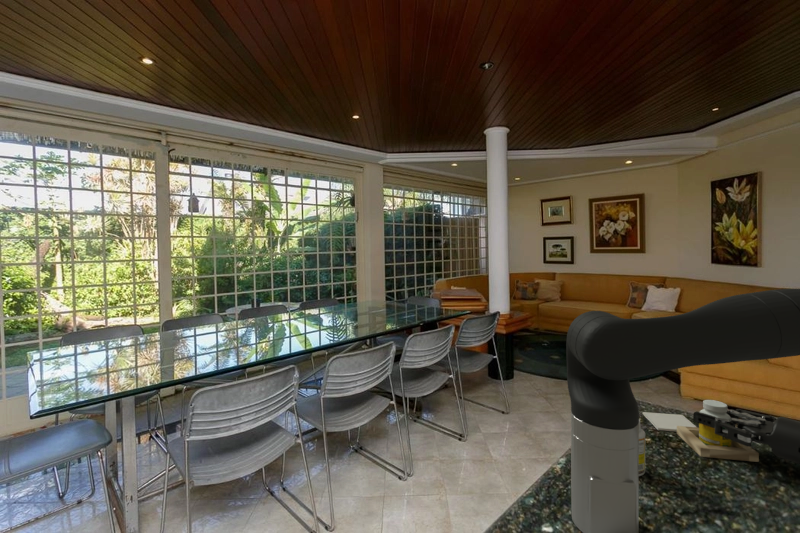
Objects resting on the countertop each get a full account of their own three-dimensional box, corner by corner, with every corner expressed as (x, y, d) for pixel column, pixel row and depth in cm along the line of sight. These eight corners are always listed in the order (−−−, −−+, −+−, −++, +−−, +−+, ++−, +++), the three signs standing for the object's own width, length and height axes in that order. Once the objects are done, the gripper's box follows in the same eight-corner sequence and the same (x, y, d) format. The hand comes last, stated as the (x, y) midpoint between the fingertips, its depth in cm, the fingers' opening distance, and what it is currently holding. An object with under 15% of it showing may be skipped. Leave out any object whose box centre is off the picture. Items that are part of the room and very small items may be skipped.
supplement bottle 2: (704, 438, 84) (704, 396, 83) (735, 448, 79) (735, 404, 79) (694, 445, 81) (695, 402, 80) (726, 456, 76) (726, 410, 76)
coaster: (701, 433, 86) (701, 431, 86) (657, 430, 88) (657, 427, 88) (682, 416, 94) (682, 414, 94) (642, 413, 97) (642, 412, 97)
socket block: (758, 462, 74) (758, 453, 74) (700, 456, 76) (700, 447, 76) (727, 437, 84) (727, 429, 84) (676, 433, 86) (676, 425, 86)
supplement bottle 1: (617, 458, 76) (617, 409, 76) (648, 469, 72) (649, 418, 72) (607, 469, 73) (607, 418, 72) (640, 481, 68) (640, 427, 68)
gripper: (823, 416, 71) (714, 389, 86) (800, 436, 64) (685, 403, 78) (823, 454, 71) (714, 421, 86) (799, 479, 64) (685, 438, 79)
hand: (700, 412), depth 82 cm, fingers open, 5 cm apart
